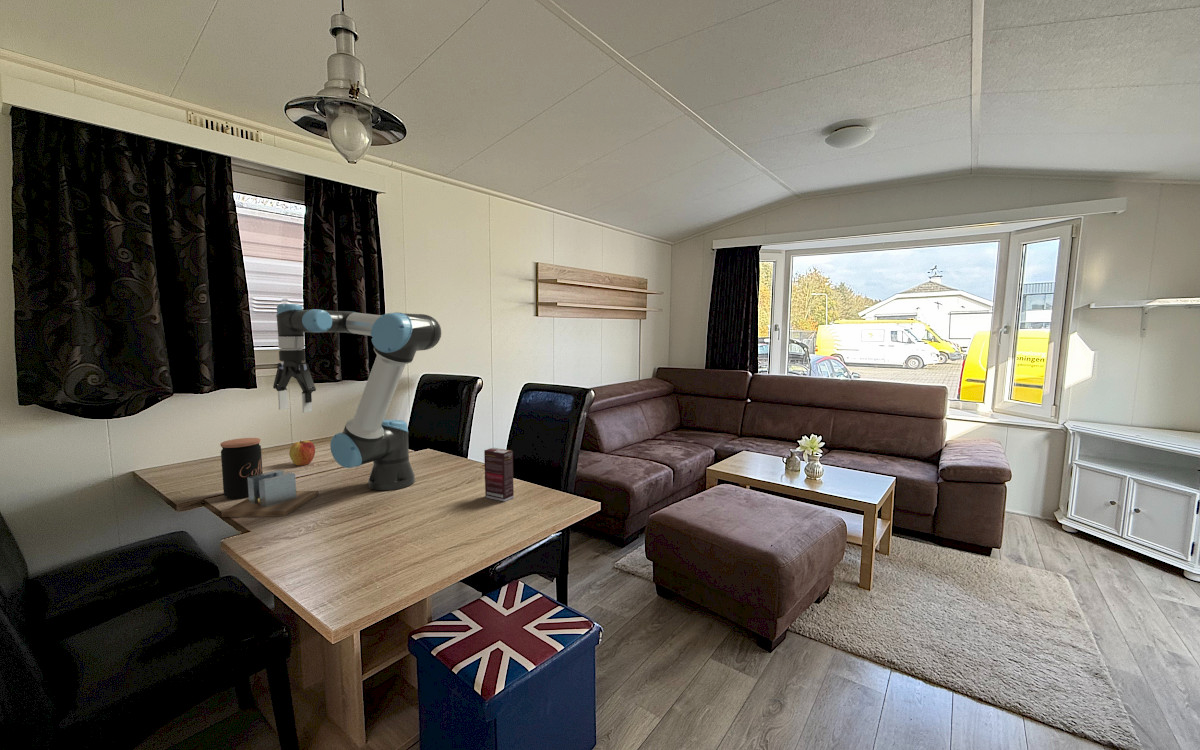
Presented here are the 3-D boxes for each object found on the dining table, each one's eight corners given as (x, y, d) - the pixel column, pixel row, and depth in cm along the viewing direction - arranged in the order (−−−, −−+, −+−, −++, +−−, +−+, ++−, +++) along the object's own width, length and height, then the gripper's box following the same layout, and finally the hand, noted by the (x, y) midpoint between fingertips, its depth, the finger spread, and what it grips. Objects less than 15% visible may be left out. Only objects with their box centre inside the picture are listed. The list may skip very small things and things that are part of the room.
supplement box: (514, 497, 156) (513, 450, 155) (504, 502, 152) (503, 453, 151) (494, 493, 160) (493, 447, 159) (484, 497, 156) (483, 450, 155)
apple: (306, 467, 190) (305, 443, 189) (284, 467, 190) (282, 443, 189) (320, 461, 199) (319, 438, 198) (299, 461, 199) (297, 437, 198)
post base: (318, 495, 158) (316, 473, 158) (285, 515, 140) (283, 491, 140) (262, 495, 157) (260, 473, 157) (221, 516, 139) (219, 491, 139)
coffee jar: (242, 500, 153) (239, 445, 151) (215, 498, 155) (211, 444, 153) (271, 490, 163) (268, 438, 162) (245, 488, 165) (242, 437, 164)
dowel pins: (285, 496, 153) (284, 490, 152) (287, 496, 152) (287, 490, 152) (257, 504, 145) (256, 498, 145) (259, 505, 145) (259, 498, 145)
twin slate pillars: (296, 498, 151) (295, 473, 150) (266, 507, 143) (264, 481, 142) (279, 493, 155) (278, 469, 154) (249, 502, 147) (247, 477, 146)
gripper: (325, 349, 162) (328, 411, 164) (281, 348, 173) (284, 406, 175) (303, 350, 155) (306, 414, 157) (259, 349, 166) (262, 409, 168)
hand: (295, 410), depth 166 cm, fingers open, 13 cm apart
